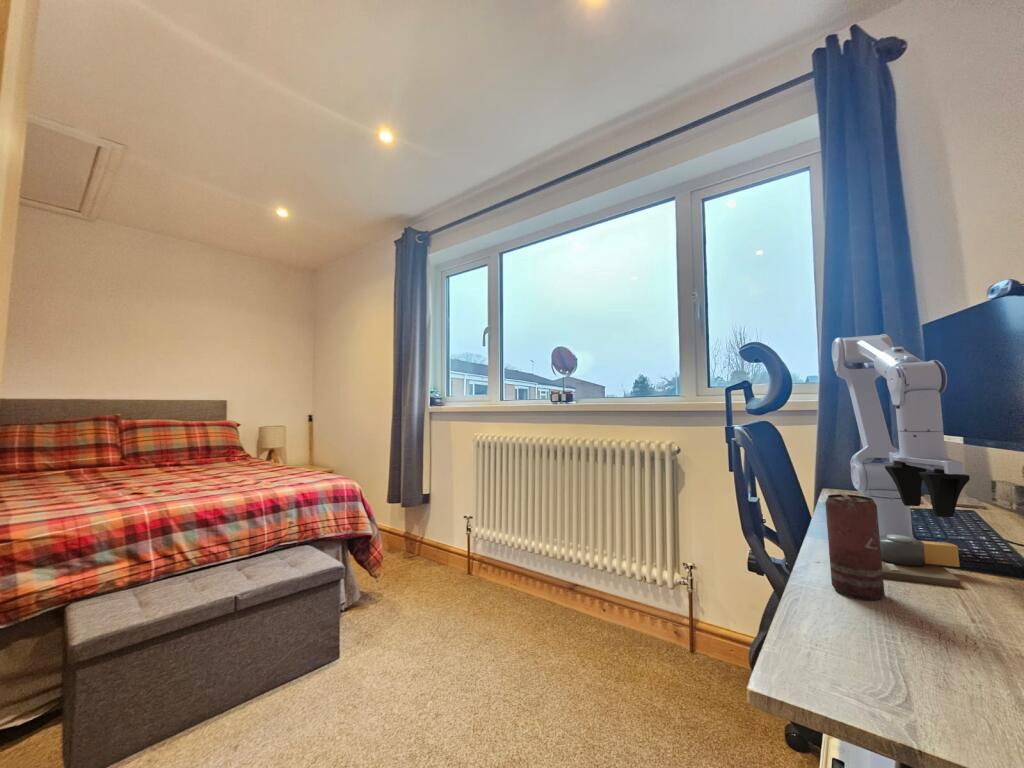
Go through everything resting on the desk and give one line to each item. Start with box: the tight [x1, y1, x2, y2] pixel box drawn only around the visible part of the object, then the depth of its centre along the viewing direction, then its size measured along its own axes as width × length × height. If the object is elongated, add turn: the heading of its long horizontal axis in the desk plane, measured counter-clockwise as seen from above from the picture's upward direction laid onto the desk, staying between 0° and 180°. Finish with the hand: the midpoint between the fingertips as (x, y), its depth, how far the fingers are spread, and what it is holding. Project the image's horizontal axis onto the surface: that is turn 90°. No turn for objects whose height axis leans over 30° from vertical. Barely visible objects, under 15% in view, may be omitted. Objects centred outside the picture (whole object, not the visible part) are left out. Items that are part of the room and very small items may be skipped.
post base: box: [882, 559, 962, 588], centre depth 72 cm, size 14×10×1 cm
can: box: [824, 493, 885, 601], centre depth 64 cm, size 6×6×14 cm
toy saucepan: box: [880, 535, 961, 568], centre depth 72 cm, size 10×6×4 cm, turn 62°
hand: (927, 510), depth 73 cm, fingers open, 7 cm apart
